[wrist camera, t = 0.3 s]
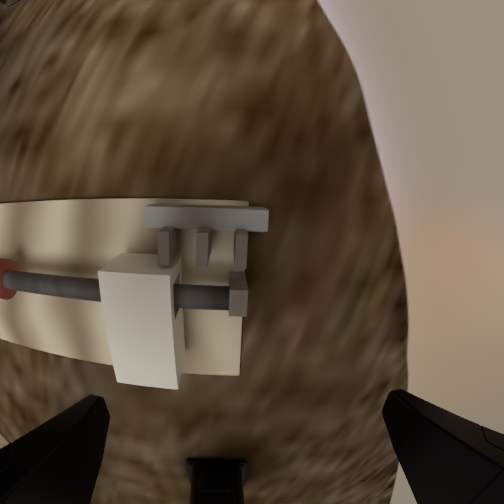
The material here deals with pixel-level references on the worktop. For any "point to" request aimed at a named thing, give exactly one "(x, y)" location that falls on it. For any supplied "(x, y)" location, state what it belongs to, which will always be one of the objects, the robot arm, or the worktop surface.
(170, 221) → the cable comb
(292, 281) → the worktop surface
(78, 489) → the robot arm
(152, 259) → the sleeve
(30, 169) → the worktop surface
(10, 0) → the coffee box
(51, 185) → the worktop surface
